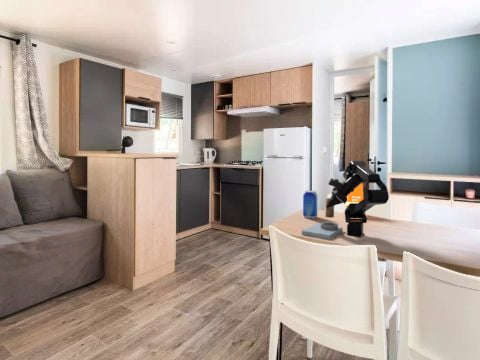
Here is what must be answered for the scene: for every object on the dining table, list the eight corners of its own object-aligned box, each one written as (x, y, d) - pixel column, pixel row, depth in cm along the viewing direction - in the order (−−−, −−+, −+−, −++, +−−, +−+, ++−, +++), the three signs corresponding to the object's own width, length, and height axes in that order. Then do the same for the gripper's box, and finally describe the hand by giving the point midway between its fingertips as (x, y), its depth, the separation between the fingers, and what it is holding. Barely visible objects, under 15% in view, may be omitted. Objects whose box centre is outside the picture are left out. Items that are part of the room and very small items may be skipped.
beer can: (301, 218, 182) (301, 191, 181) (305, 215, 190) (305, 190, 188) (315, 219, 179) (315, 192, 177) (318, 216, 186) (319, 190, 184)
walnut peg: (335, 216, 151) (335, 198, 150) (332, 217, 148) (332, 199, 147) (327, 215, 153) (327, 197, 152) (324, 216, 150) (324, 199, 149)
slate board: (342, 231, 152) (342, 223, 152) (329, 239, 139) (329, 231, 138) (316, 227, 161) (316, 219, 160) (301, 234, 147) (301, 226, 147)
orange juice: (362, 216, 186) (363, 183, 184) (347, 215, 188) (348, 183, 186) (360, 213, 193) (361, 182, 191) (345, 213, 195) (346, 182, 193)
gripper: (337, 171, 156) (314, 192, 160) (340, 174, 138) (315, 197, 142) (352, 186, 155) (329, 207, 159) (358, 191, 137) (332, 214, 141)
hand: (326, 206), depth 150 cm, fingers closed on walnut peg, 4 cm apart
